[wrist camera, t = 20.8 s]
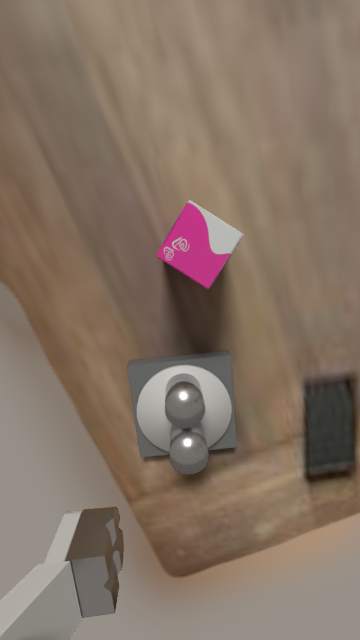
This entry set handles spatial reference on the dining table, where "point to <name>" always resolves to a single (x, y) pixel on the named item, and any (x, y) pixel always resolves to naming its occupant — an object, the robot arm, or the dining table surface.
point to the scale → (150, 399)
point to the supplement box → (199, 244)
